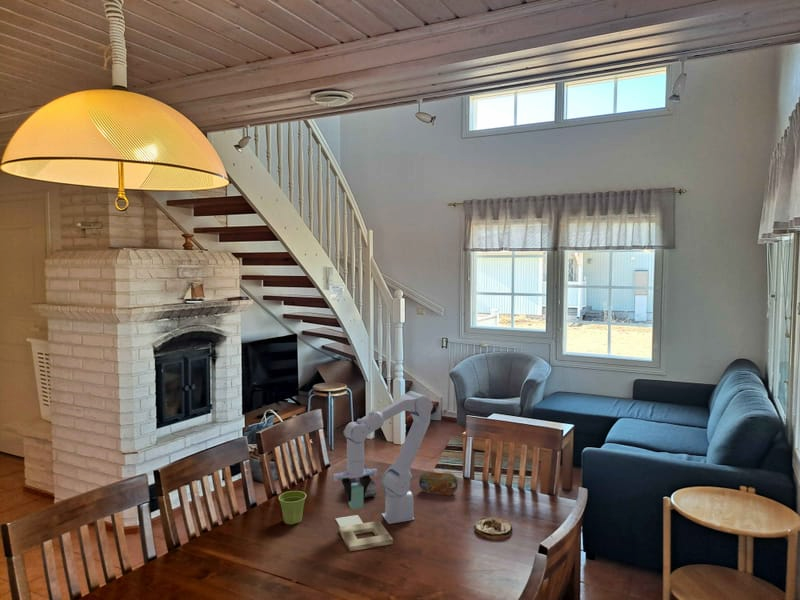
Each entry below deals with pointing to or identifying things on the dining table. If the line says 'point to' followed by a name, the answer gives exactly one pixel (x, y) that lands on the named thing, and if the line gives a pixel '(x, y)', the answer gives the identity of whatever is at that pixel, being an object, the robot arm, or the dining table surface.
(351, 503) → the teal block
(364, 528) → the board
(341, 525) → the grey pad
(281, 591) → the dining table surface
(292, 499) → the plant pot
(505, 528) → the beige round shallow dish
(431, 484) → the tin
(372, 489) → the geode
